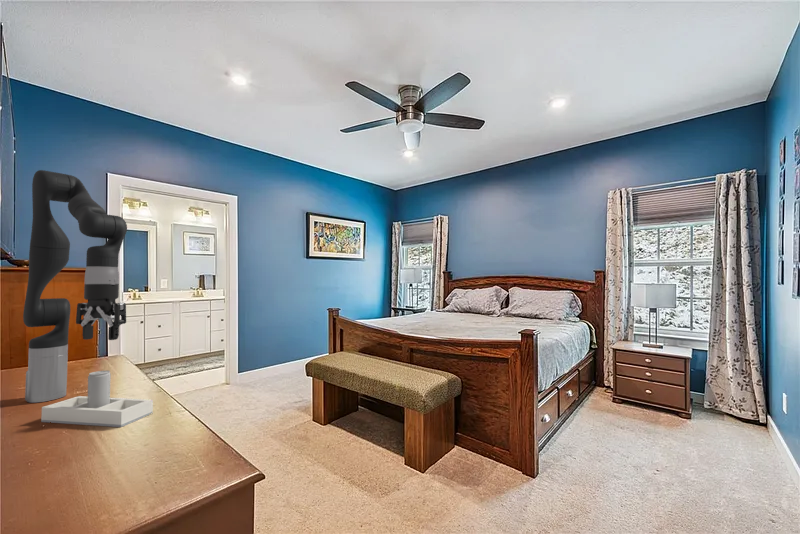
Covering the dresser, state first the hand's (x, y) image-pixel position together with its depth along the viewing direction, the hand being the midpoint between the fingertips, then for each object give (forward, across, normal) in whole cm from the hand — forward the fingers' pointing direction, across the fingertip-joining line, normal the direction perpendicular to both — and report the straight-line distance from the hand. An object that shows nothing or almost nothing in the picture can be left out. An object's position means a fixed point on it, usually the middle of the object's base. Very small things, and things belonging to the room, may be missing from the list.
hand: (100, 339), depth 98 cm
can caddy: (+22, 0, 0) cm, 22 cm away
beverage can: (+22, 0, 0) cm, 22 cm away
